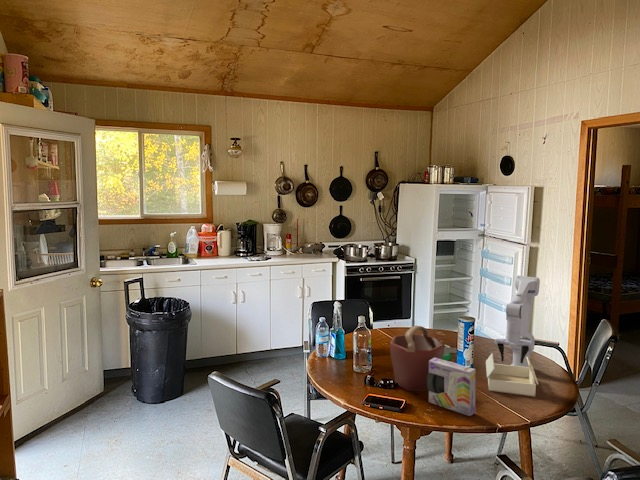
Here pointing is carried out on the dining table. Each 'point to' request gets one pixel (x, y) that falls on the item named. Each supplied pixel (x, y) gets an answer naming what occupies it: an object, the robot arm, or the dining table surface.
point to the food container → (449, 353)
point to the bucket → (414, 358)
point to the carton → (512, 380)
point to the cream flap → (532, 370)
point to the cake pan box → (451, 386)
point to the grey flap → (490, 365)
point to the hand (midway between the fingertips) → (511, 361)
